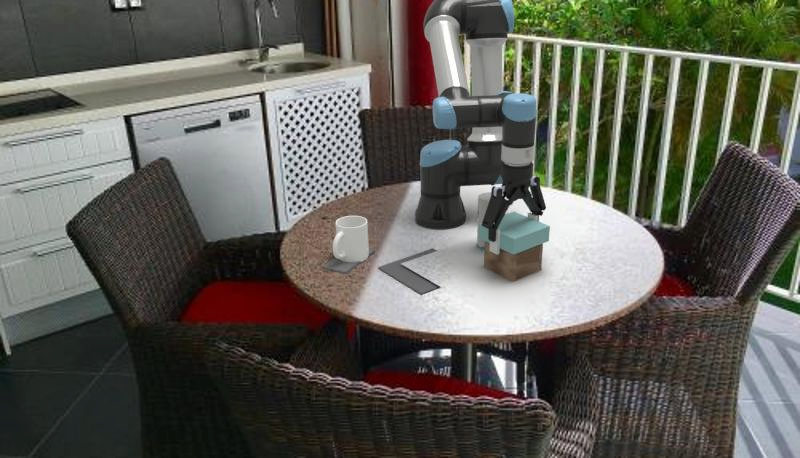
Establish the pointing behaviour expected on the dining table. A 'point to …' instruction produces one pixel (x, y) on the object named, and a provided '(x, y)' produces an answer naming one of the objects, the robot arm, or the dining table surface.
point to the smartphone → (343, 264)
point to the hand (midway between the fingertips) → (513, 245)
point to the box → (513, 262)
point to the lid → (518, 233)
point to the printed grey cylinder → (482, 214)
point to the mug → (351, 239)
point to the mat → (410, 274)
